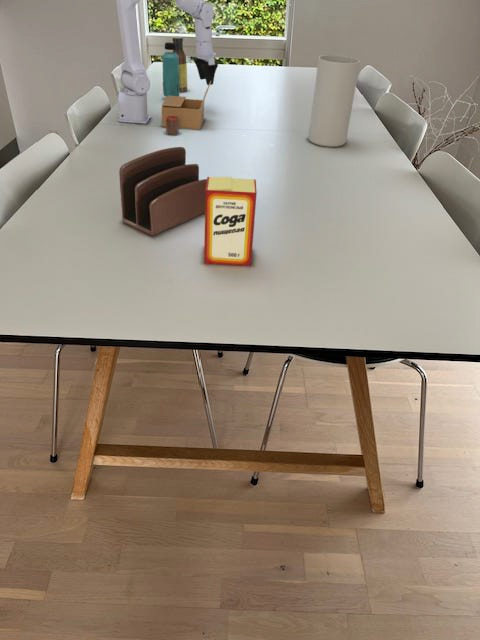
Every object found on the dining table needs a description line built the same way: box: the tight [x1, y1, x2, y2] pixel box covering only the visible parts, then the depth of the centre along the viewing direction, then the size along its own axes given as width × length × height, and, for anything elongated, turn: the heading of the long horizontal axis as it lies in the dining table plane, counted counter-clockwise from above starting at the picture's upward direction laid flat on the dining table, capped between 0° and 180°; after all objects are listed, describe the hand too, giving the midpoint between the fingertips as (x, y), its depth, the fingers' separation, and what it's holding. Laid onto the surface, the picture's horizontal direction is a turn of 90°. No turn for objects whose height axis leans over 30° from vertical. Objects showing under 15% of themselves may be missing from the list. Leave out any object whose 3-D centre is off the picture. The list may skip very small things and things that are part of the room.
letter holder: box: [118, 146, 207, 237], centre depth 121 cm, size 10×20×14 cm, turn 141°
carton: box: [161, 95, 205, 130], centre depth 184 cm, size 13×13×7 cm
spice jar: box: [165, 116, 179, 136], centre depth 174 cm, size 4×4×5 cm
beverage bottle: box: [161, 41, 181, 98], centre depth 205 cm, size 6×7×20 cm
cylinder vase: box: [308, 54, 361, 148], centre depth 171 cm, size 12×12×25 cm
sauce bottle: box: [172, 35, 188, 93], centre depth 217 cm, size 6×6×20 cm
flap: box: [200, 81, 211, 108], centre depth 180 cm, size 6×13×1 cm
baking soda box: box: [203, 176, 258, 267], centre depth 106 cm, size 10×6×16 cm
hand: (206, 81), depth 194 cm, fingers open, 7 cm apart
